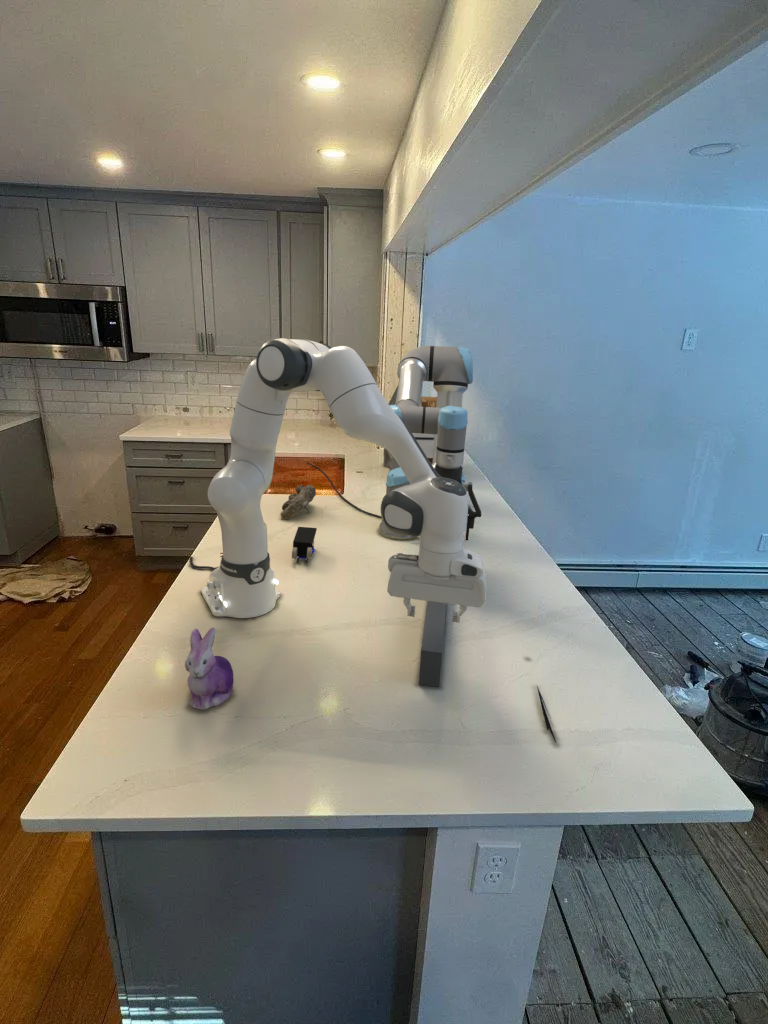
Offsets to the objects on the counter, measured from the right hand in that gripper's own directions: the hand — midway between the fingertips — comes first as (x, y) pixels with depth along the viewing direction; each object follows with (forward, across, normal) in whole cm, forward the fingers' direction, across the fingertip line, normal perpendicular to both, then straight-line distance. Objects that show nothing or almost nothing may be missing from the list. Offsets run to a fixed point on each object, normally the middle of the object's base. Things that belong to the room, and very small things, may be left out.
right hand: (442, 536), depth 162 cm
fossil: (+16, -55, +47) cm, 74 cm away
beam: (+14, 0, -23) cm, 27 cm away
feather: (+13, +23, -50) cm, 56 cm away
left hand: (-1, -1, -46) cm, 46 cm away
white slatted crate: (+17, -14, +114) cm, 116 cm away
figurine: (+12, -43, -62) cm, 76 cm away
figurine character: (+14, -43, +8) cm, 46 cm away
